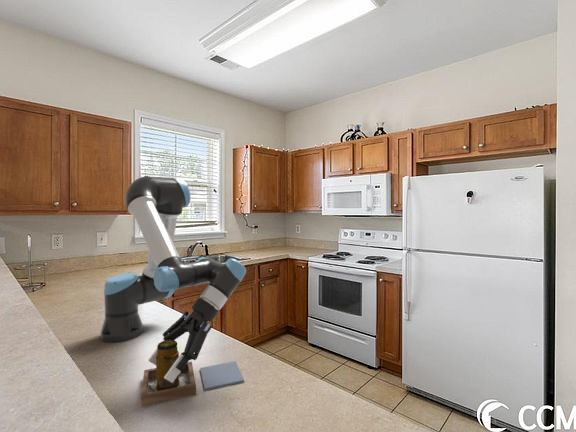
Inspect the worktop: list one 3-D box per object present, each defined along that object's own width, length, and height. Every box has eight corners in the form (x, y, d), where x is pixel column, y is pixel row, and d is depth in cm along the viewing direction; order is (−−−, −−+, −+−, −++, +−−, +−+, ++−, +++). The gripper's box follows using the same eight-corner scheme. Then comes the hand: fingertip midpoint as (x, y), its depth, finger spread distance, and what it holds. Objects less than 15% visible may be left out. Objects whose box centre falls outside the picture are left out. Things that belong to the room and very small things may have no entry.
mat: (200, 369, 97) (200, 367, 97) (235, 363, 101) (235, 361, 101) (204, 390, 86) (204, 388, 86) (244, 381, 90) (244, 379, 90)
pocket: (144, 378, 93) (144, 370, 93) (192, 369, 97) (191, 361, 97) (140, 407, 79) (140, 397, 79) (196, 394, 84) (196, 385, 84)
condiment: (174, 376, 94) (173, 336, 94) (188, 386, 88) (187, 344, 88) (149, 386, 89) (148, 344, 88) (163, 398, 83) (162, 353, 82)
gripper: (238, 320, 89) (187, 395, 79) (199, 302, 107) (154, 361, 97) (221, 306, 85) (165, 383, 76) (184, 289, 104) (135, 349, 94)
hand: (159, 371), depth 87 cm, fingers open, 12 cm apart
